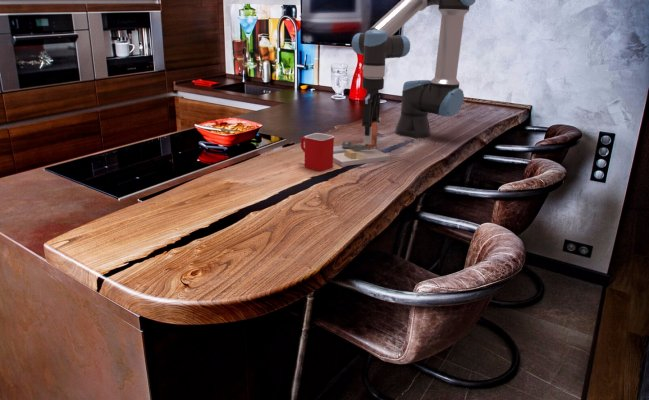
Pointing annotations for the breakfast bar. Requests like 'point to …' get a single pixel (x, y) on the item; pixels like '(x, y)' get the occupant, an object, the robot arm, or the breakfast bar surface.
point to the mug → (318, 151)
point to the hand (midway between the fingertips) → (369, 141)
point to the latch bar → (367, 146)
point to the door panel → (359, 157)
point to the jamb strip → (341, 150)
